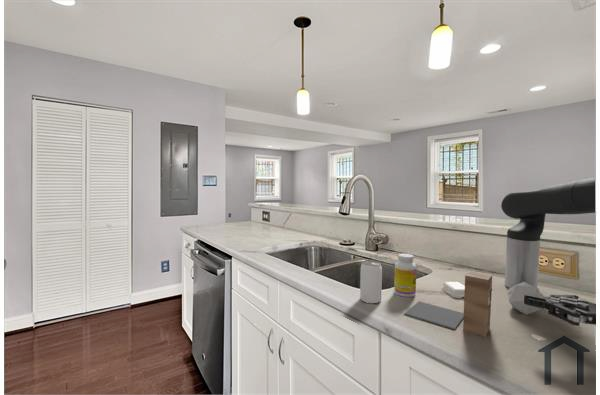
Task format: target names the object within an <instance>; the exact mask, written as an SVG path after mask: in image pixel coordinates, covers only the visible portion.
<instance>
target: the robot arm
mask: <svg viewBox="0 0 600 395" xmlns="http://www.w3.org/2000/svg"><path fill="white" fill-rule="evenodd" d="M500 206H501V210H502V212H503V214H505V216H507V217H508V218H511V219H517V220H519V222H518V223H516V224H515V225H514V226H512V227H509V228H508V229H507V232H506V233H507V234H506V248H505V249H506V253H505V254H506V255H505V270H504V286H506V288H508V289H509V288H511V287H513V286H515V285H517V284H520V283H522V282H525V283H528V284H530V285H532V286H534V287H537V288H538V284H539V283H538V282H539V268H540V267H539V266H540V265H539V264H540V252H541V250H540V247H541V246H540V245H541V236H542V234H543V232H544V230H545V229H544V228H545V219H546V215H547V214H548V215H584V214H585V215H586V214H595V177H589V178H584V179H576V180H572V181H568V182H564V183H561V184H560V183H559V184H555V185H552V186H548V187H544V188H540V189H537V190H527V191H514V192H510V193H508V194H507V195H505V196H504V197H503V199H502V201H501V205H500ZM524 304H526V305H530V306H534V307H539V308H542V309H544V311H547V314H548V315H550V316H551V317H554V318H557V319H559V320H561V321H564V322H566V323H568V324H570V325H572V326H576V327H580V324H582V325H583V324H584V325H595V326H597V325H596V304H597V303H593V302H590V301H589V300H587V299H582V298H580V296H578V295H576V294H569V295H568V294H550V295H548V296H542V295H541V296H537V295H532V294H525V296H524Z"/></svg>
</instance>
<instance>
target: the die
mask: <svg viewBox="0 0 600 395" xmlns="http://www.w3.org/2000/svg"><path fill="white" fill-rule="evenodd" d="M506 292H507V298H508V302H509V304H510V306H512V308H513V309H515V310H516V311H518V312H520V313H522V314H524V315H525V316H527V315H530V314H532V313H535V312H537V311H538V310H541V309H543V308H539V307H534V306H530V305H526V304H524V296H525V294H532V295H537V296H542V294H541V292H540V289H539V287H538V286H537V287H534V286H532V285H530V284H528V283H525V282H522V283H520V284H517V285H515V286H513V287H511V288H509V287H508V288H507V289H506Z"/></svg>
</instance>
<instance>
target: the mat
mask: <svg viewBox="0 0 600 395" xmlns="http://www.w3.org/2000/svg"><path fill="white" fill-rule="evenodd" d="M403 315H404V316H407V317H411V318H415V319H417V320H421V321H425V322H427V323H430V324H434V325H437V326H440V327H444V328H447V329H450V330H454V331H455V330H456V329H457V328H458V327H459V325H460V324H461V323H462V321H463V317H464V312H460V311H457V310H453V309H451V308H450V309H449V308H446V307H442V306H438V305H434V304H431V303H427V302H423V301H420V300H419V301H417V302H416V303H415V304H413V305H412V307H410V308H409V309H407V311H405V312H404V314H403Z"/></svg>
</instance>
